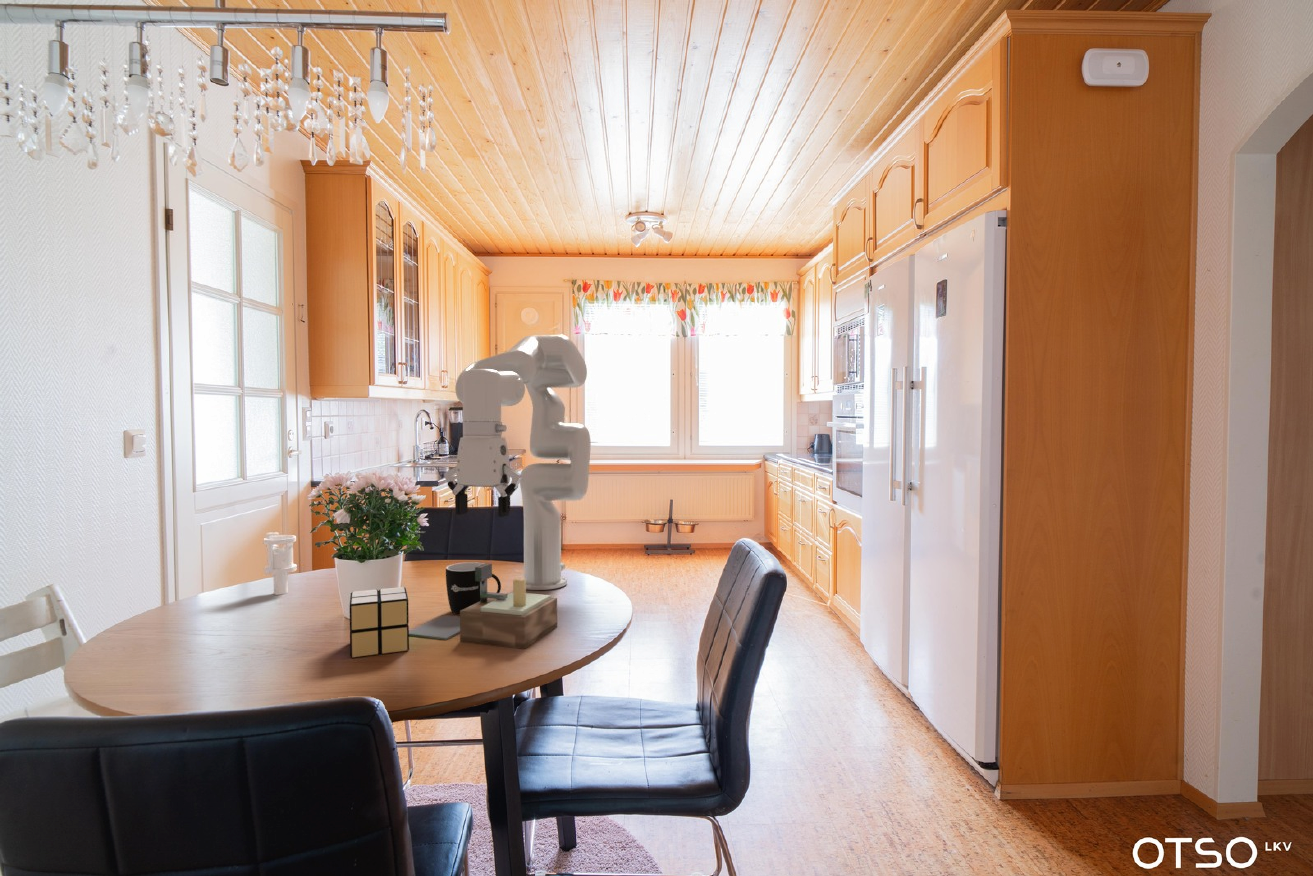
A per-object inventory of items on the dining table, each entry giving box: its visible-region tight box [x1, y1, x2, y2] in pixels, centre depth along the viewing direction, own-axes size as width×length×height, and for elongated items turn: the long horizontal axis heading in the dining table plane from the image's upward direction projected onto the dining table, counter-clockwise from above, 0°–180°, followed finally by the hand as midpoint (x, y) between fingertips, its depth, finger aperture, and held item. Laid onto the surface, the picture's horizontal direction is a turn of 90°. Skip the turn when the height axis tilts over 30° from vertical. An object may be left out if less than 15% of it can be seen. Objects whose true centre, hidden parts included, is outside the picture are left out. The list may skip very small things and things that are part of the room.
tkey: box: [475, 562, 508, 602], centre depth 136 cm, size 4×6×7 cm
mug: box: [445, 561, 502, 616], centre depth 152 cm, size 12×9×10 cm
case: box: [459, 597, 558, 650], centre depth 135 cm, size 14×14×6 cm
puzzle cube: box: [349, 586, 410, 659], centre depth 128 cm, size 10×10×10 cm
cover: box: [481, 577, 552, 615], centre depth 135 cm, size 12×9×6 cm
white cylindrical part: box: [263, 531, 298, 596], centre depth 166 cm, size 7×7×15 cm
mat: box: [409, 614, 460, 641], centre depth 139 cm, size 13×10×1 cm
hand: (482, 515), depth 136 cm, fingers open, 9 cm apart
